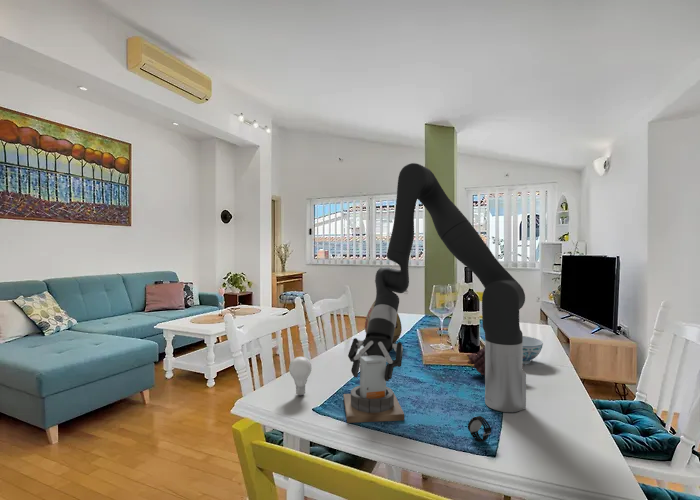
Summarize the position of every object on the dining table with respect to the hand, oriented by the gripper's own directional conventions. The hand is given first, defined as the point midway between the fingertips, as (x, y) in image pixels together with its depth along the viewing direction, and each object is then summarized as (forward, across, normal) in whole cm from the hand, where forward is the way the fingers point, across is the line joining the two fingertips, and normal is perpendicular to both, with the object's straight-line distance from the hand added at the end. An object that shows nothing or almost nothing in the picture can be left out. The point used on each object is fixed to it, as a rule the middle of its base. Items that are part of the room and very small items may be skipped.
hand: (370, 377), depth 99 cm
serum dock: (+5, 0, +7) cm, 9 cm away
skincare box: (+4, 0, +6) cm, 8 cm away
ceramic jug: (-37, -14, +50) cm, 63 cm away
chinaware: (-35, +39, +47) cm, 70 cm away
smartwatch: (+11, +27, +2) cm, 29 cm away
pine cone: (-20, +30, +33) cm, 48 cm away
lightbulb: (+4, -22, +9) cm, 24 cm away
